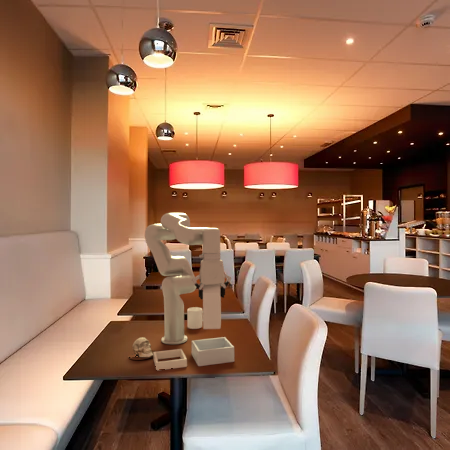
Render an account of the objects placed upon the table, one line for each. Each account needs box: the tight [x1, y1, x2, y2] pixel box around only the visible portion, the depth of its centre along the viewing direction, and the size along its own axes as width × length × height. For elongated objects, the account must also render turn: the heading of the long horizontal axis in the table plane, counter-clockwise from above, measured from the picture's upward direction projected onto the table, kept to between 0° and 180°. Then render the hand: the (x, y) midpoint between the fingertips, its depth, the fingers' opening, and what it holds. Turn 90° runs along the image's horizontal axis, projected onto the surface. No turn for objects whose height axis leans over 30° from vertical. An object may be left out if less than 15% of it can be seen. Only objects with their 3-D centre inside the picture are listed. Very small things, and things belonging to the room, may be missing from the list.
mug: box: [186, 306, 203, 330], centre depth 193 cm, size 8×12×10 cm, turn 85°
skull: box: [129, 337, 157, 361], centre depth 152 cm, size 12×10×10 cm
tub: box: [191, 336, 235, 367], centre depth 149 cm, size 13×15×6 cm
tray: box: [153, 348, 188, 371], centre depth 144 cm, size 12×12×3 cm
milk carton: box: [202, 284, 222, 330], centre depth 148 cm, size 7×7×19 cm
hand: (212, 297), depth 148 cm, fingers closed on milk carton, 8 cm apart
